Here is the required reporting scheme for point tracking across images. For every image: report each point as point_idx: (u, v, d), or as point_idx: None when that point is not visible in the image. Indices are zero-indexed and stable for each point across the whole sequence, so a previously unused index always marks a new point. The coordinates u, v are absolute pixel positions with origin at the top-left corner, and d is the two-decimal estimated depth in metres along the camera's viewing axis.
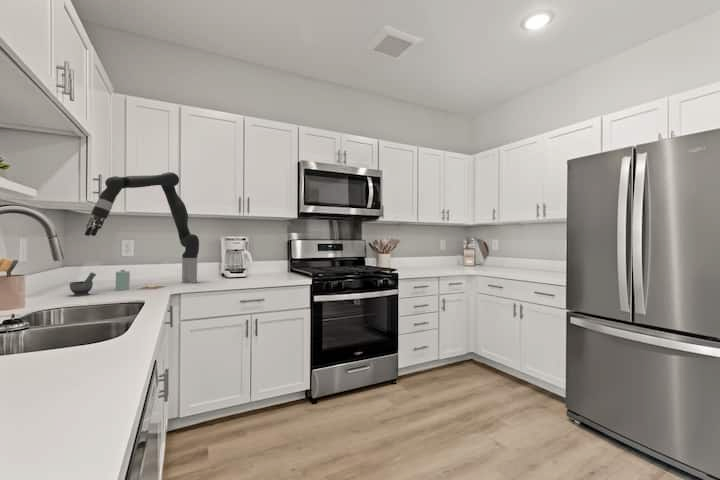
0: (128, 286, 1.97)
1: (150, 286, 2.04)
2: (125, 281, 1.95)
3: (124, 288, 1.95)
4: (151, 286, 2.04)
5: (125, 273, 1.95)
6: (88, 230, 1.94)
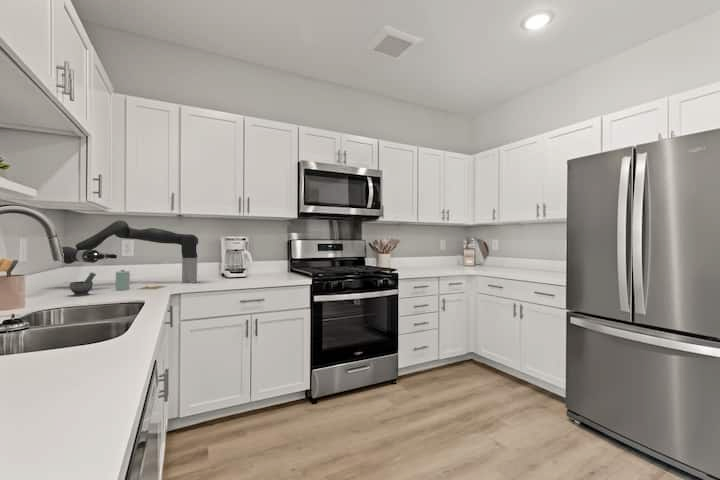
0: (128, 286, 1.97)
1: (150, 286, 2.04)
2: (125, 281, 1.95)
3: (124, 288, 1.95)
4: (151, 286, 2.04)
5: (125, 273, 1.95)
6: (111, 257, 2.07)
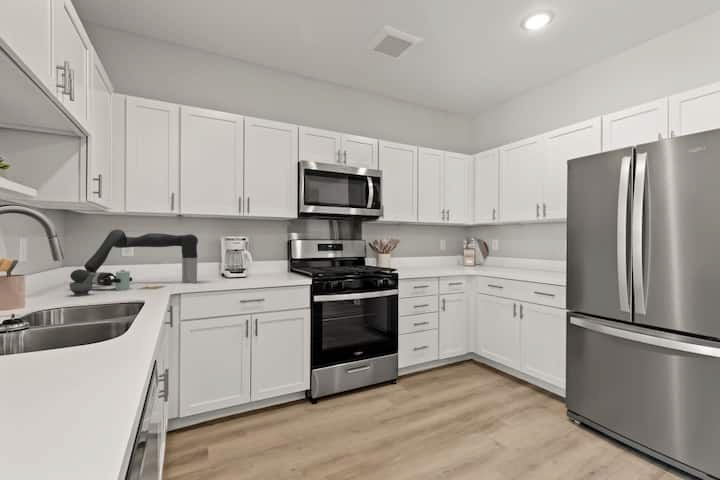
0: (128, 286, 1.97)
1: (150, 286, 2.04)
2: (125, 281, 1.95)
3: (124, 288, 1.95)
4: (151, 286, 2.04)
5: (125, 273, 1.95)
6: None
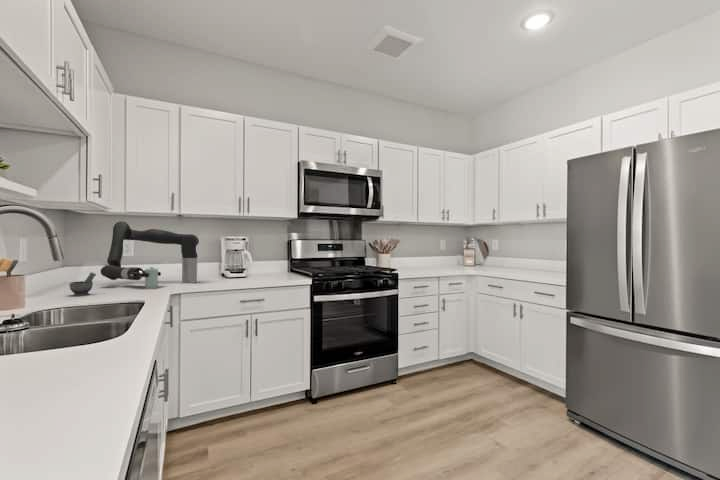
0: (156, 283, 2.06)
1: None
2: (154, 278, 2.04)
3: (153, 285, 2.03)
4: None
5: (154, 270, 2.04)
6: None
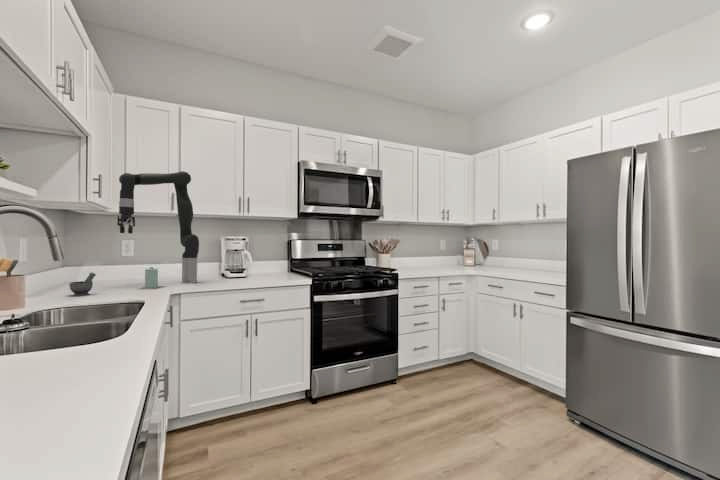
0: (156, 283, 2.06)
1: None
2: (154, 278, 2.04)
3: (153, 285, 2.03)
4: None
5: (154, 270, 2.04)
6: (129, 228, 2.15)
